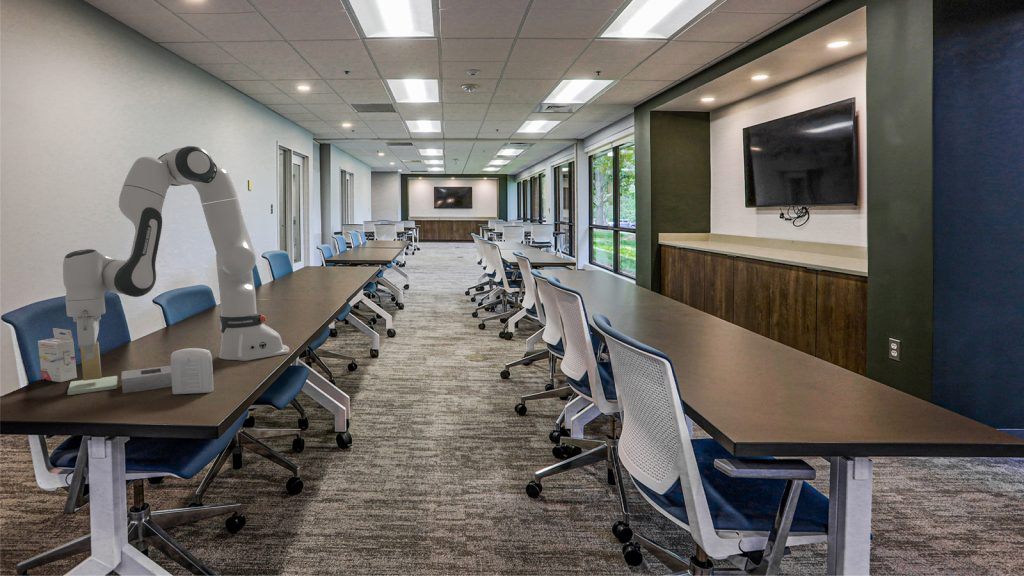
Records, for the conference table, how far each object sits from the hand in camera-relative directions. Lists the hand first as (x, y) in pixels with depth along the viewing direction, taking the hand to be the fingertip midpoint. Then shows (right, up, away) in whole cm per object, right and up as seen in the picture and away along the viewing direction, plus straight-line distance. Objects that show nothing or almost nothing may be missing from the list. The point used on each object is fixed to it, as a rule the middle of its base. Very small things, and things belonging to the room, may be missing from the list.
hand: (90, 356), depth 166 cm
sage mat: (0, -9, +1) cm, 9 cm away
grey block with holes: (+17, -8, +4) cm, 20 cm away
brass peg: (0, -6, +1) cm, 6 cm away
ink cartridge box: (-16, -8, +9) cm, 20 cm away
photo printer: (+31, -10, -4) cm, 33 cm away
